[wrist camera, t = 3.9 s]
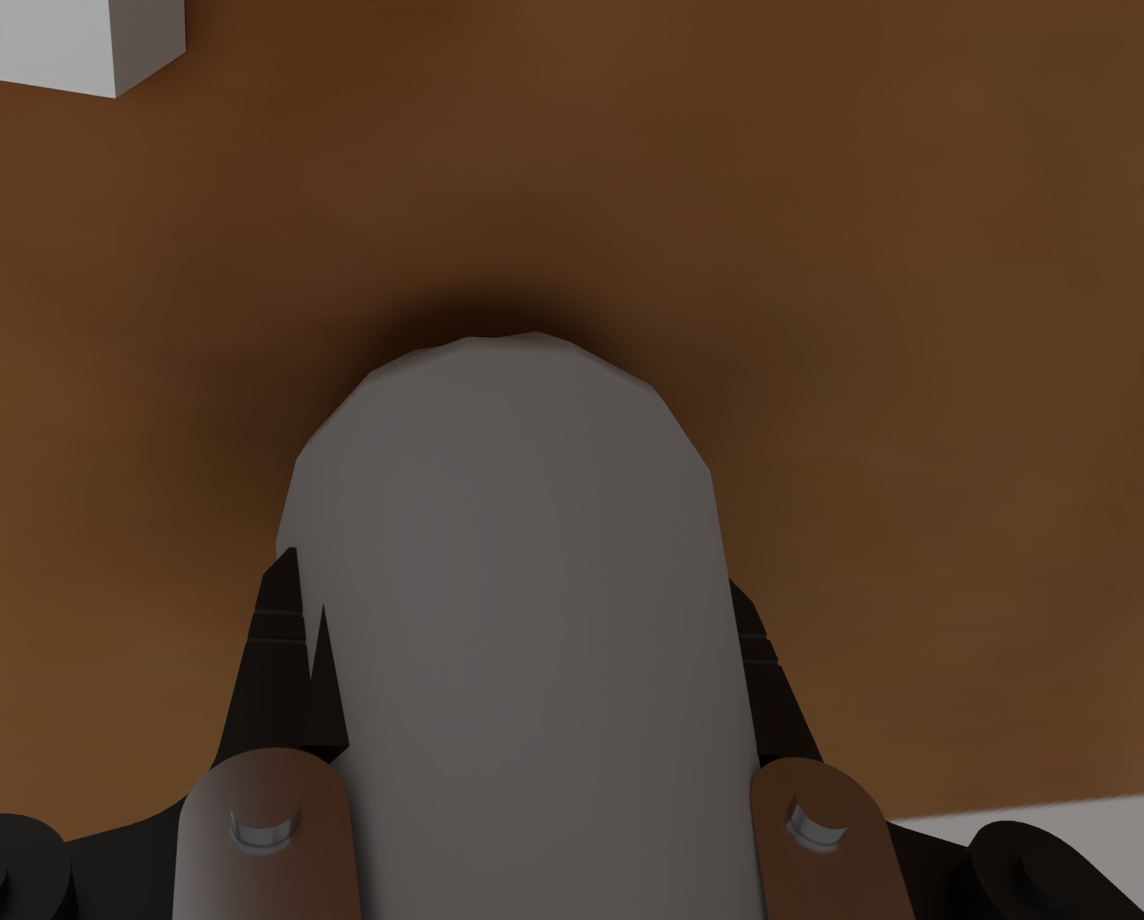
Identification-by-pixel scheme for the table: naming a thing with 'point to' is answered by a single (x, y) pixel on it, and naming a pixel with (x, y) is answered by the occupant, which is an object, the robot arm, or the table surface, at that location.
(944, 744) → the table surface
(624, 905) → the salt shaker
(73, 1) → the caddy
